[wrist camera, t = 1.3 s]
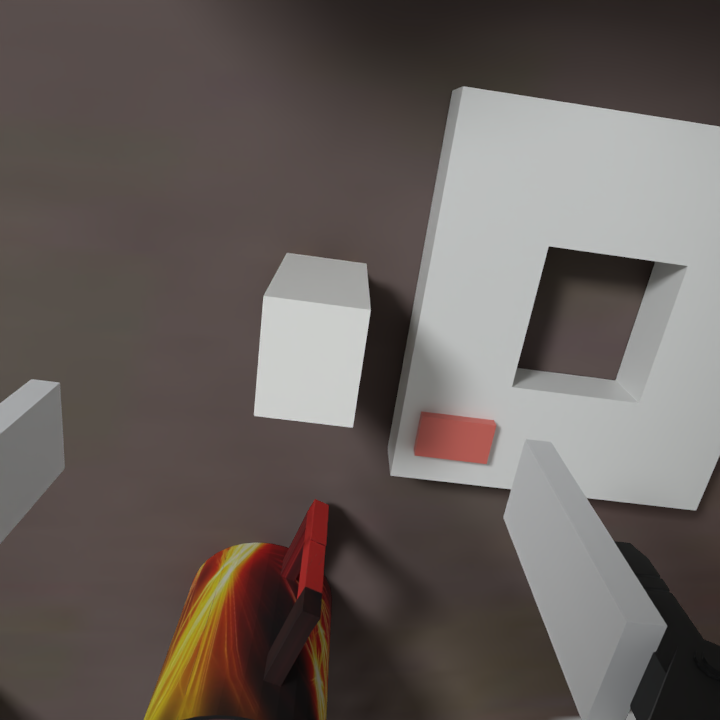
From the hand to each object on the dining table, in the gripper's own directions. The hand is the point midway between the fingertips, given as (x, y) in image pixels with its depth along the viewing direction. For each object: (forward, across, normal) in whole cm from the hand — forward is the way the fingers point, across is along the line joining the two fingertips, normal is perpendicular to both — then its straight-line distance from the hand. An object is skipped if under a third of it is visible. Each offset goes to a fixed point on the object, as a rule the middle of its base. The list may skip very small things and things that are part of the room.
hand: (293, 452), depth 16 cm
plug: (+16, 0, 0) cm, 16 cm away
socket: (+16, +14, +1) cm, 22 cm away
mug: (+17, -2, -20) cm, 26 cm away
